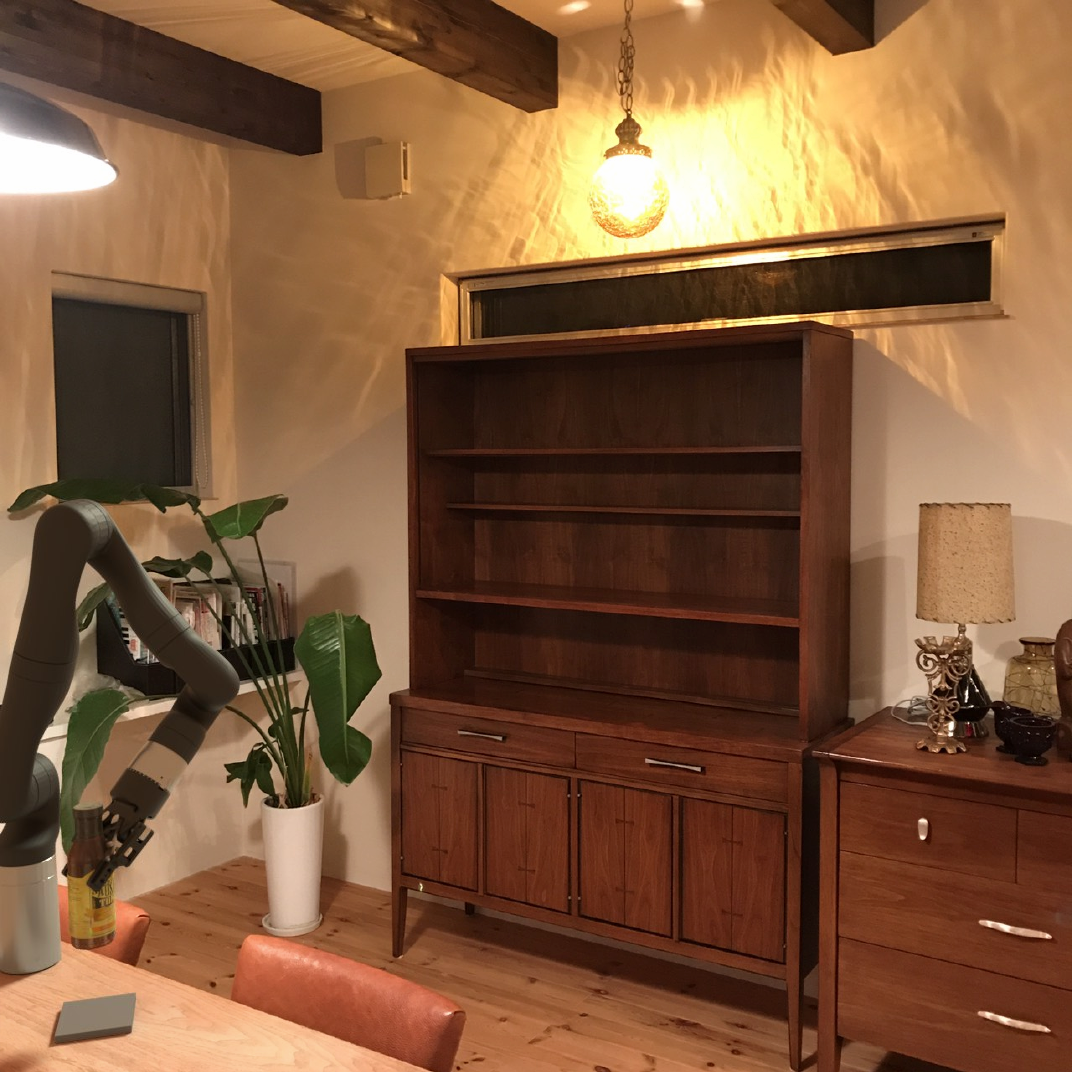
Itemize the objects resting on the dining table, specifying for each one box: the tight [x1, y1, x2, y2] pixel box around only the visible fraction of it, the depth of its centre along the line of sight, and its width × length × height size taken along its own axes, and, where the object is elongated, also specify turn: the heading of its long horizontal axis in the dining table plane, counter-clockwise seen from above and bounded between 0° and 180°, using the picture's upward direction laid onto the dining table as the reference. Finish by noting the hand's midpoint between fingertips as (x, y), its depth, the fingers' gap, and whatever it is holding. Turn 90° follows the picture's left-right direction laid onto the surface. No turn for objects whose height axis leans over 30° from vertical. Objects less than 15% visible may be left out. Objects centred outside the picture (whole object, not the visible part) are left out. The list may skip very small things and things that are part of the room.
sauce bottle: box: [66, 801, 117, 951], centre depth 164 cm, size 7×6×20 cm
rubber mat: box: [54, 992, 137, 1044], centre depth 166 cm, size 10×10×1 cm
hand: (79, 882), depth 163 cm, fingers closed on sauce bottle, 6 cm apart
